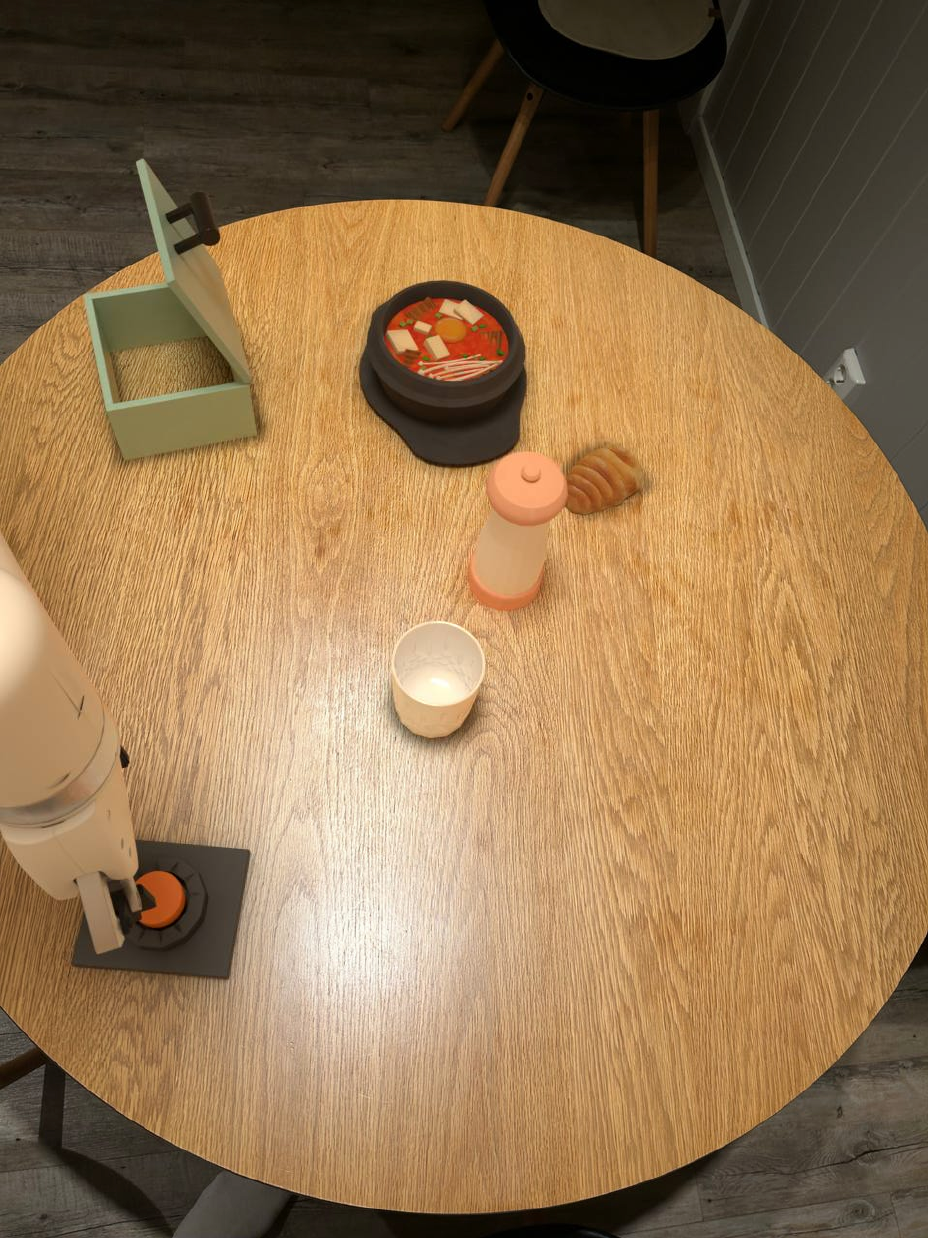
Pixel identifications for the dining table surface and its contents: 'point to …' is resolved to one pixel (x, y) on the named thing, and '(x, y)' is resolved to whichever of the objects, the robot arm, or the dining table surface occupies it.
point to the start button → (162, 898)
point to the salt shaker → (516, 530)
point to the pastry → (603, 480)
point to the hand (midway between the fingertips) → (118, 836)
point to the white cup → (436, 677)
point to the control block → (181, 915)
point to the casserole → (446, 371)
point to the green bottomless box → (171, 416)
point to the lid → (194, 264)
